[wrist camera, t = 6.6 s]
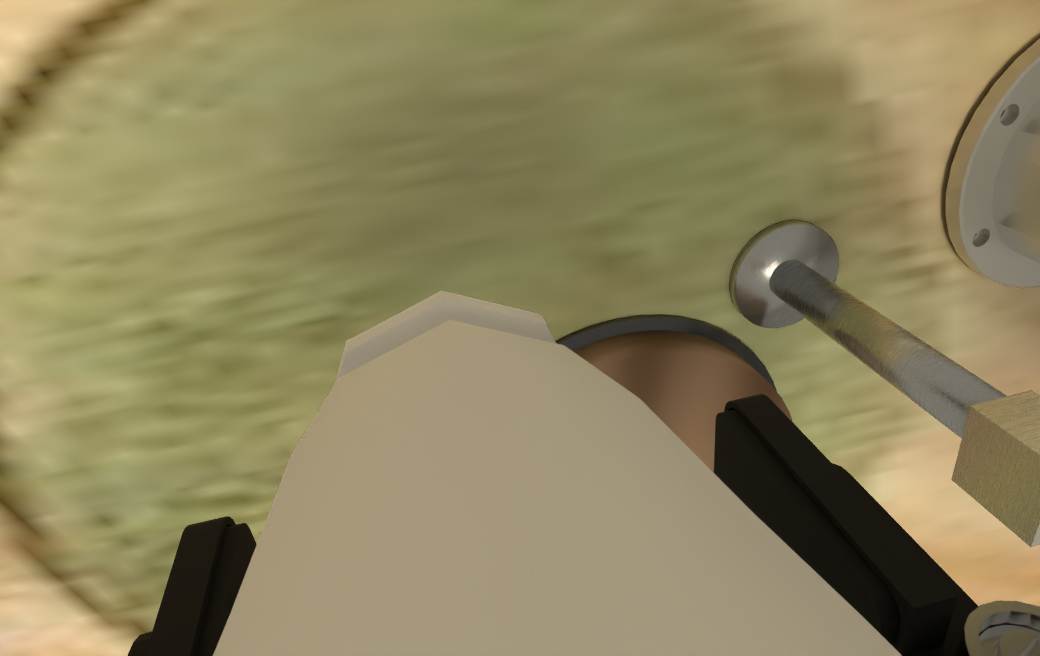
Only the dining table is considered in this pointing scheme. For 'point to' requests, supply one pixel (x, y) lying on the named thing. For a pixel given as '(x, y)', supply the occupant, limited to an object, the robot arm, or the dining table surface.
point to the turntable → (680, 380)
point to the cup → (514, 516)
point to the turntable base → (664, 323)
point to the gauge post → (900, 367)
